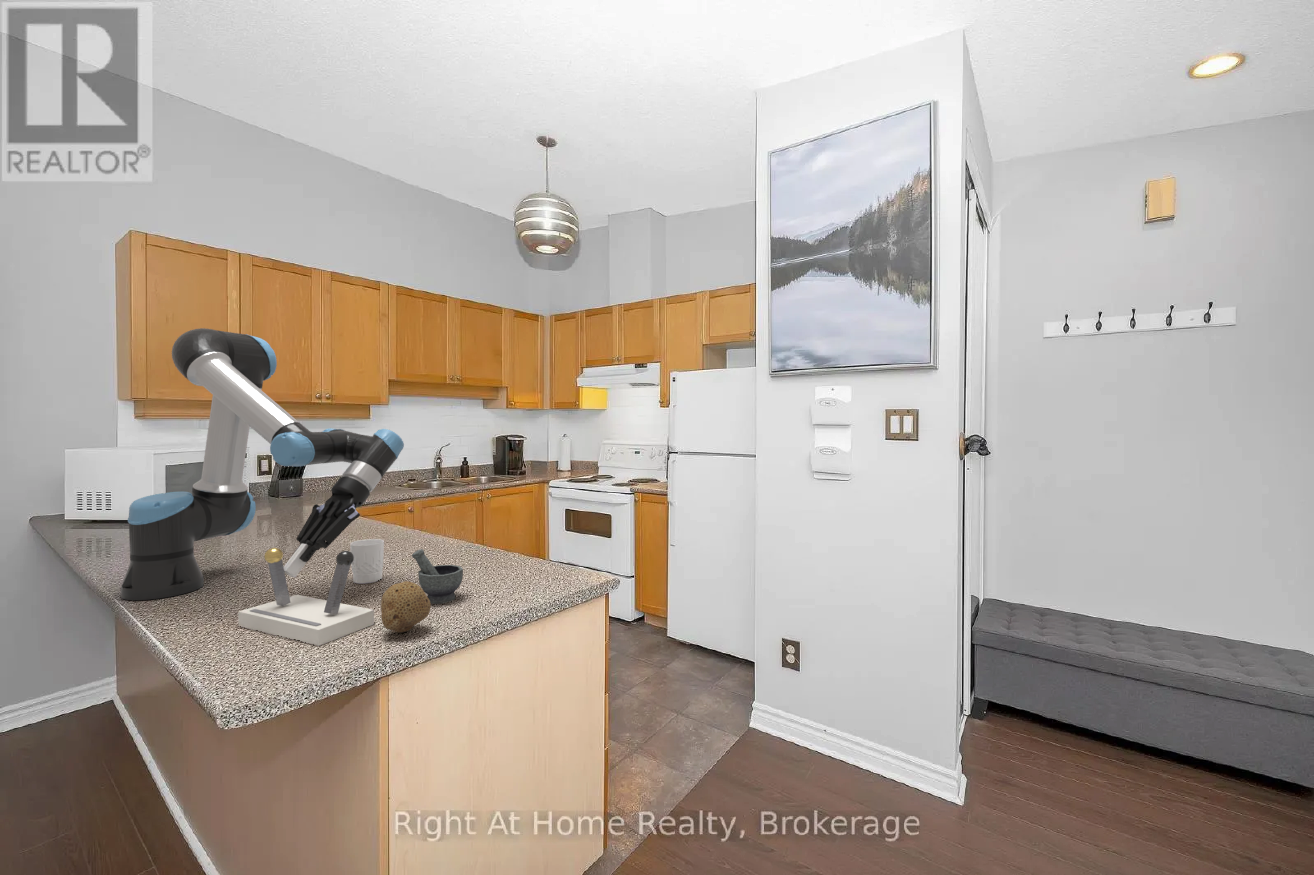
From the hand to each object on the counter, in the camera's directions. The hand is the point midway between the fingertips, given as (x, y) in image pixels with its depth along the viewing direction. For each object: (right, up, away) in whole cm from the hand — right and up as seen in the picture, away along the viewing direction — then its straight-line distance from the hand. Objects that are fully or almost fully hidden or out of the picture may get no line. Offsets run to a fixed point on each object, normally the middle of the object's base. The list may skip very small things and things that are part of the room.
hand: (288, 573), depth 117 cm
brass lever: (-1, -7, 0) cm, 7 cm away
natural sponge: (+27, -10, -6) cm, 30 cm away
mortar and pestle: (+26, -10, +14) cm, 31 cm away
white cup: (+2, -9, +29) cm, 30 cm away
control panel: (+6, -10, -3) cm, 12 cm away
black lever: (+12, -7, -6) cm, 15 cm away
